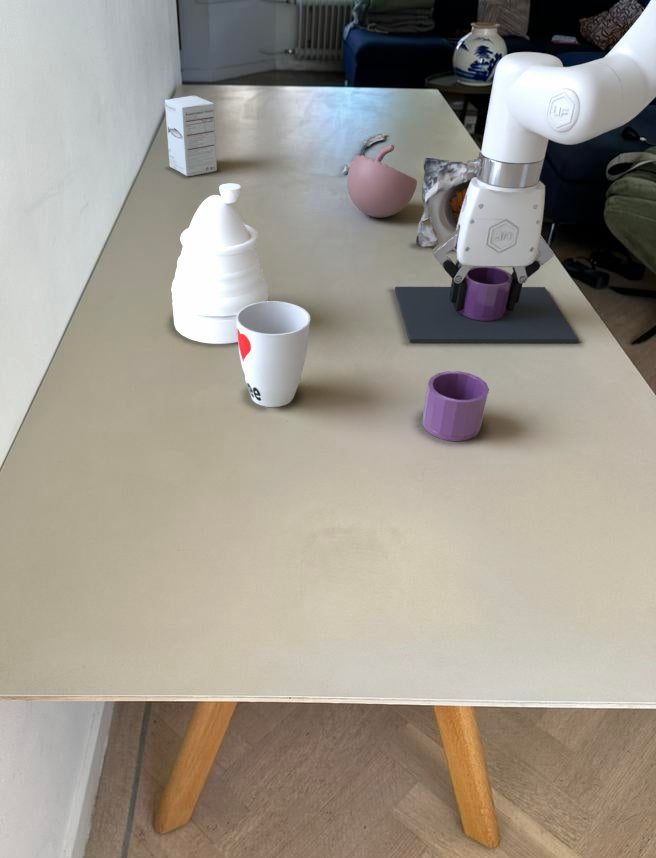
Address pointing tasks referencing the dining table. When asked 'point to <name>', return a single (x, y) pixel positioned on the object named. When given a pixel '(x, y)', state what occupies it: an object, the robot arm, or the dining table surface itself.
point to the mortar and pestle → (379, 185)
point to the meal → (442, 199)
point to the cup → (272, 350)
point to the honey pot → (216, 271)
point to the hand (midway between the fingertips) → (482, 305)
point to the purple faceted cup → (454, 405)
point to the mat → (440, 323)
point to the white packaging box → (191, 135)
